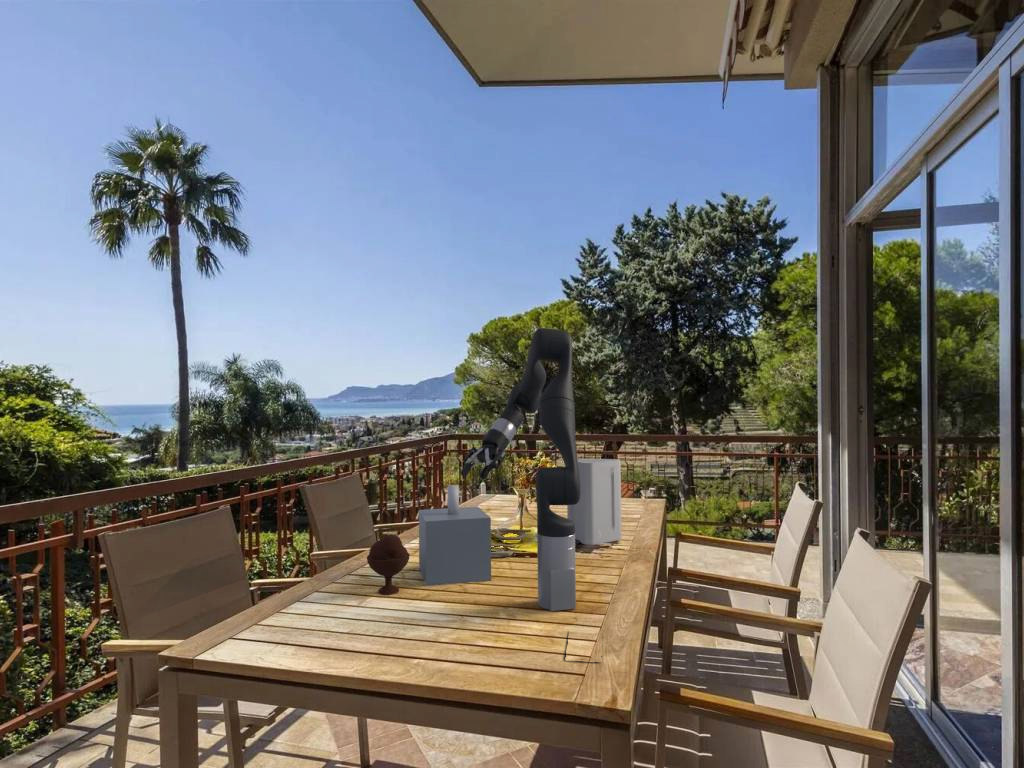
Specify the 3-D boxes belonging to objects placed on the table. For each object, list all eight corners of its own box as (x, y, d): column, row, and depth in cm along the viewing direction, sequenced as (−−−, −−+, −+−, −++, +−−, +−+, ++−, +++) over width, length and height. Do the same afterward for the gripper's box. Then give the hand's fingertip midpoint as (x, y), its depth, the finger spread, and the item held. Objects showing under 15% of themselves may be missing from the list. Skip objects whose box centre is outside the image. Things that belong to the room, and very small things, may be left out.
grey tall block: (561, 543, 210) (560, 462, 211) (569, 534, 224) (568, 458, 225) (616, 546, 205) (615, 463, 206) (621, 536, 219) (620, 459, 220)
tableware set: (505, 562, 187) (505, 549, 187) (420, 555, 197) (420, 543, 197) (537, 538, 221) (537, 526, 221) (463, 533, 230) (463, 522, 230)
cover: (491, 580, 168) (490, 488, 168) (426, 585, 163) (425, 491, 164) (478, 563, 185) (477, 480, 186) (419, 568, 180) (418, 483, 181)
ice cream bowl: (413, 585, 164) (413, 529, 164) (402, 598, 152) (402, 539, 153) (375, 584, 165) (375, 529, 165) (361, 598, 154) (361, 538, 154)
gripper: (477, 427, 191) (449, 466, 183) (509, 428, 181) (480, 470, 173) (490, 443, 195) (463, 482, 186) (521, 445, 185) (494, 487, 176)
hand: (471, 476), depth 180 cm, fingers open, 8 cm apart
